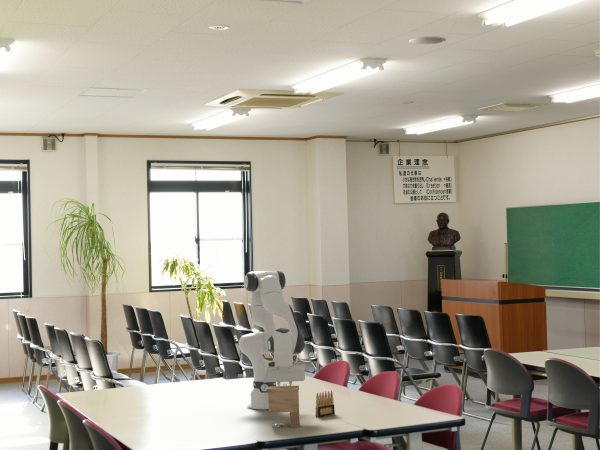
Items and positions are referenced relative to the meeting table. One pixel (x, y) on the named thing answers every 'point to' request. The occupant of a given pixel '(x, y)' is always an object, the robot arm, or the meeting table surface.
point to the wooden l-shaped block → (285, 402)
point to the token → (277, 425)
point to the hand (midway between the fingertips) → (284, 391)
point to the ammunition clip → (324, 405)
